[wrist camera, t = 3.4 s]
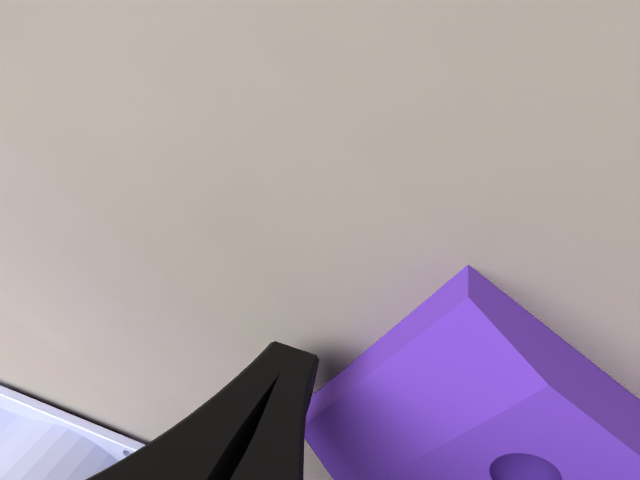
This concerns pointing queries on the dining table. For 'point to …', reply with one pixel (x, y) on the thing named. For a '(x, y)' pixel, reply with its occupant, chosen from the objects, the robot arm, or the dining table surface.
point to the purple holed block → (474, 400)
